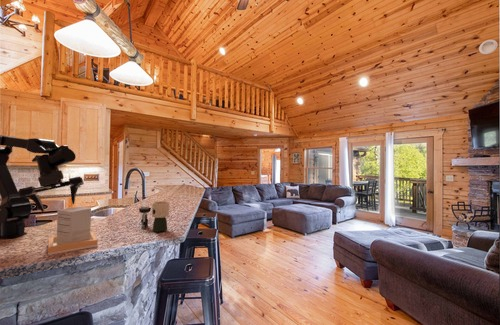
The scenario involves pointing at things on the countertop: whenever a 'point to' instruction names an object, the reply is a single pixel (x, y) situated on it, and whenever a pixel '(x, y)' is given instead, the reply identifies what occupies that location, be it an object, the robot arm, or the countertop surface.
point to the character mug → (160, 215)
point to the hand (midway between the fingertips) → (58, 207)
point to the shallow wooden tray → (71, 245)
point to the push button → (144, 215)
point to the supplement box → (73, 225)
